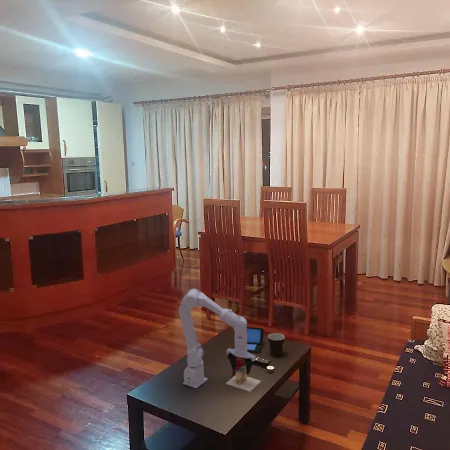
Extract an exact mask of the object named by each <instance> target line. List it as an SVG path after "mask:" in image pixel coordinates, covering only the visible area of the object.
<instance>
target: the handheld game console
mask: <svg viewBox="0 0 450 450" xmlns="http://www.w3.org/2000/svg"><path fill="white" fill-rule="evenodd" d="M246 328H247V329H246V331H247V352H249V353H251V354H260V353H261V352H262V349H263V347H264V344H263V343H264V333H265V331H264V328H261V327H252V326H247V327H246ZM232 349H235V343H234V344H233V346H232Z"/></svg>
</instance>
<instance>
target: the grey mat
mask: <svg viewBox="0 0 450 450" xmlns="http://www.w3.org/2000/svg"><path fill="white" fill-rule="evenodd" d="M261 383H262V380H259V379H256V378H254V377H249V376H247V380H246V381H245V382H243V383H242V384H241V385H238V384H236V374H235V375H234V376H233V377H232V378H229V380H227V382H225V385H227V386H229V387H230V386H231V387H233V388H237V389H239V390H243V391H246V392H248V393H251V392H252V391H253V390H255V388H257V386H258V385H260V384H261Z"/></svg>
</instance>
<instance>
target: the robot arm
mask: <svg viewBox="0 0 450 450" xmlns="http://www.w3.org/2000/svg"><path fill="white" fill-rule="evenodd" d="M196 307H197V308H203V307H205V308H206V309H208V310H210V311H211V312H213V313H215V314H217V315H218V316H219V319H220V321H222V322H223V323H225V324H227V325H228V326H230V327H231V328H233V330H234V334H233V335H234V337H233V338H234V344H235V349H233V348H227V349H226V354H227V360H228V361H229V362H230V365H231V368H232V370H233V371H235V370H236V368H237V358H243V359H245V360H244V364H245V367H246V374H247V375H249V374H251V370H252V366H253V363H254V362H255V361H256V355H254V354H253V353H249V352H247V331H246V329H247V328H246V327H248V326H247V325H248V321H247V319H246V318H245V317H244V316H241V315H237V314H236V313H235V312H234V311H233V309H231V308H222V307H221V306H220V305H219V304H217V303H216V302H215V301H213V300H212V299H211V298H209V297H208V296H206V294H205V293H203V292H202V291H200V290H199V289H197V288H191V289H189V290H188V291H187V292H186V293H185V295H184V297H183V298H182V299H181V303H180V305H179V308H178V314H179V318H180V323H181V327H182V330H183V334H184V338H185V342H186V343H185V344H186V346H187V347H186V348H187V349H186V353H187V354H186V355H187V357H186V363H187V366H186V368H185V369H184V370H183V382H182V385H186V386H188V387H191V388H194V389H197V388H198V387H200V386H201V385H202V384H204V383H205V382H206V381H208V378H207V377H205V375H204V374H205V370H204V369H205V368H204V360H203V356H204V352H205V351H204V350H203V348H202V347H201V344H200V342H198V338H197V334H196V330H195V326H194V323H193V317H192V314H191V310H193V309H194V308H196Z"/></svg>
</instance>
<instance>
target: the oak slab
mask: <svg viewBox="0 0 450 450" xmlns="http://www.w3.org/2000/svg"><path fill="white" fill-rule="evenodd" d="M235 375H236V384H238V385H241V384H242V383H243V382H245V381H246V380H247V377H248V374H246V366H240V368H239V369H237V370H236V371H235Z"/></svg>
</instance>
